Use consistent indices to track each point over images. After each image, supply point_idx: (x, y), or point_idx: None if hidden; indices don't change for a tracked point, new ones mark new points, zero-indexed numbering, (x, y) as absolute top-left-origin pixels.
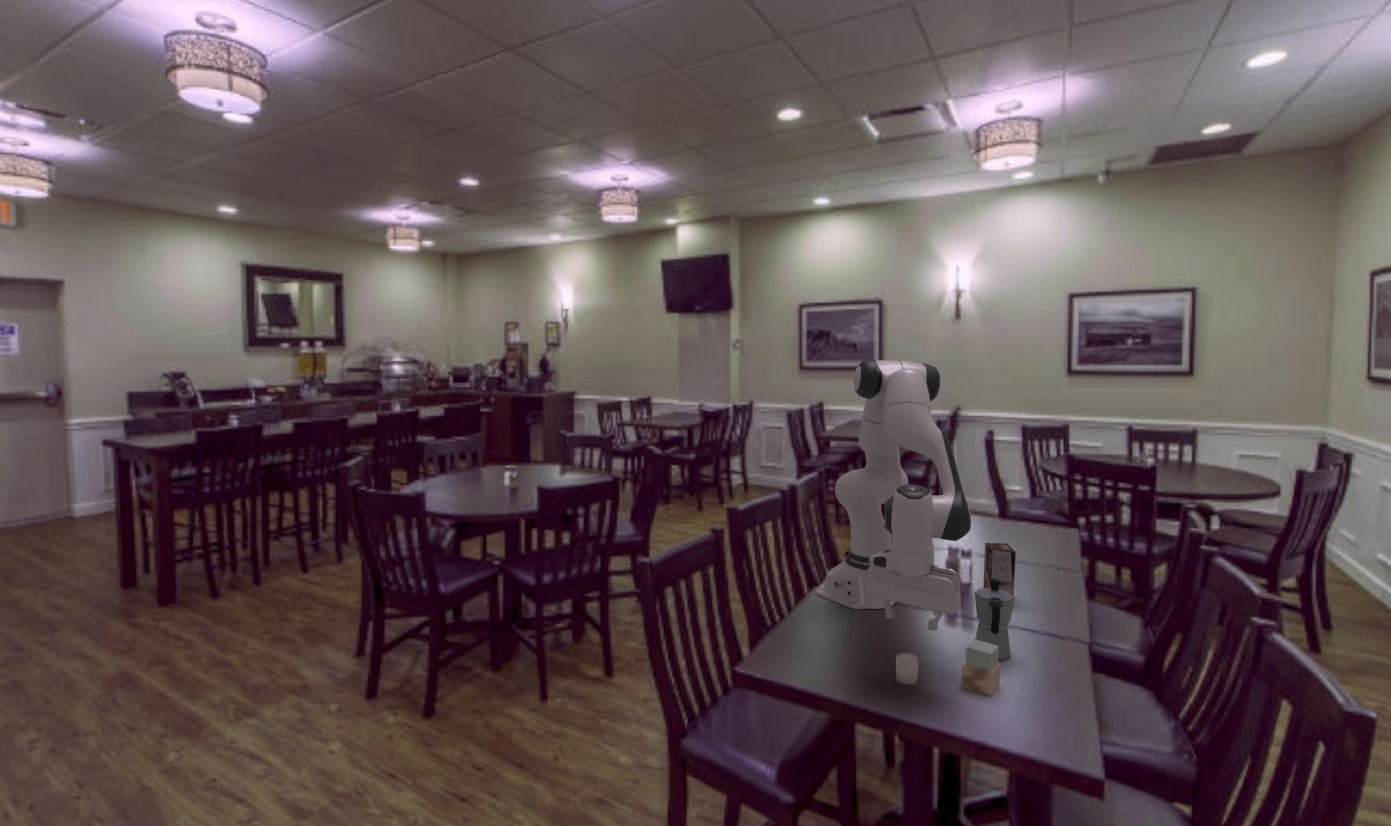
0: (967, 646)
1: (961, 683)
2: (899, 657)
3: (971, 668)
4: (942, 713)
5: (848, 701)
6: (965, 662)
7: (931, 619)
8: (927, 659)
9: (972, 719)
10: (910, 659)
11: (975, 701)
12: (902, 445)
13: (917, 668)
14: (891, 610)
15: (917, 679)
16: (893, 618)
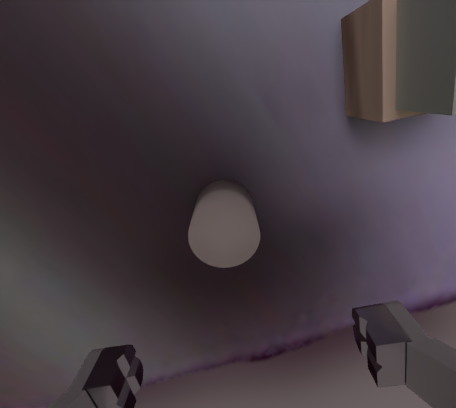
0: (454, 107)
1: (351, 116)
2: (207, 254)
3: (418, 114)
4: (367, 265)
5: (212, 361)
6: (386, 93)
7: (379, 348)
8: (176, 35)
9: (429, 237)
10: (238, 238)
11: (408, 159)
12: None
13: (256, 217)
14: (100, 404)
15: (251, 199)
16: (138, 365)
